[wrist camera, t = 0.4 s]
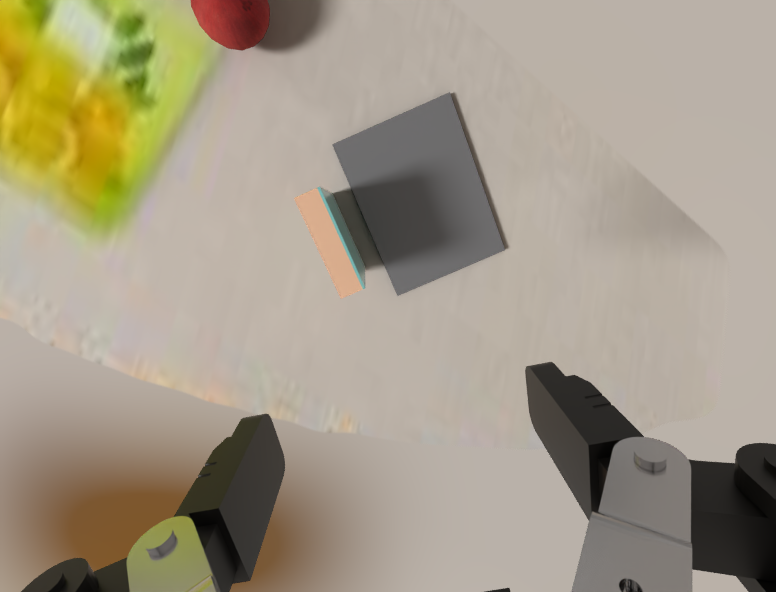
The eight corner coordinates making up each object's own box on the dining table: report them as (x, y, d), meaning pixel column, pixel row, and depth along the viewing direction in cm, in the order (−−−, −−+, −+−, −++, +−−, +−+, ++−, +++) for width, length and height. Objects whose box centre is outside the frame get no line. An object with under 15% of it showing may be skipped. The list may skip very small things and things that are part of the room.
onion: (244, -26, 34) (208, -97, 26) (291, 31, 35) (270, -20, 27) (198, 23, 34) (148, -32, 26) (246, 77, 35) (212, 40, 28)
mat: (332, 145, 37) (332, 144, 36) (448, 94, 37) (449, 92, 36) (397, 294, 41) (397, 295, 40) (503, 249, 40) (505, 249, 40)
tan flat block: (313, 201, 38) (293, 198, 27) (332, 193, 38) (319, 186, 27) (347, 274, 40) (341, 298, 29) (365, 267, 40) (365, 288, 29)
